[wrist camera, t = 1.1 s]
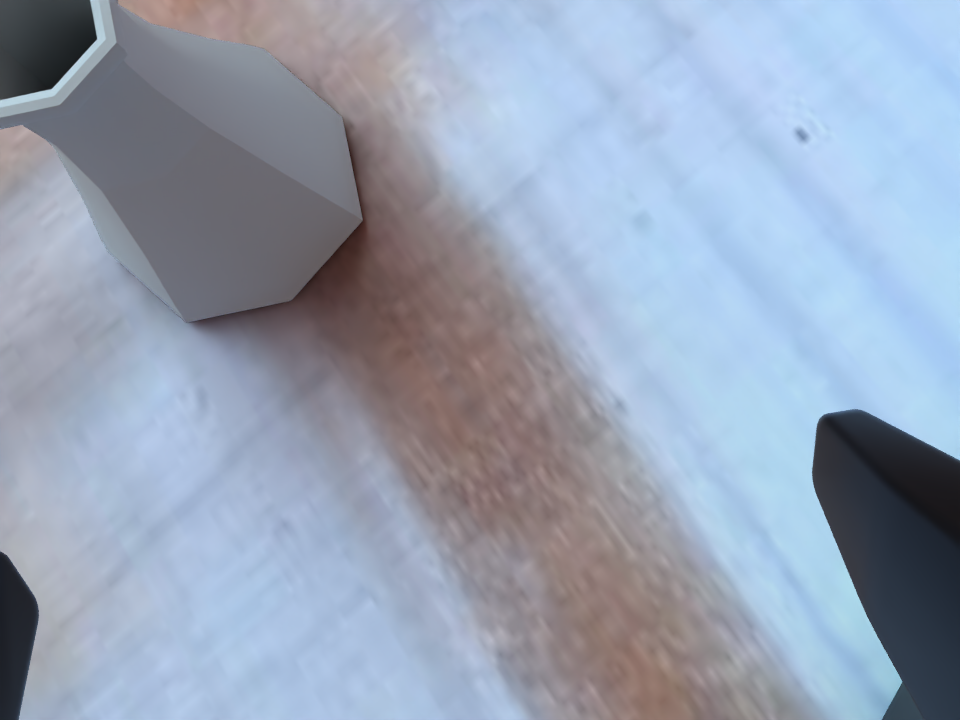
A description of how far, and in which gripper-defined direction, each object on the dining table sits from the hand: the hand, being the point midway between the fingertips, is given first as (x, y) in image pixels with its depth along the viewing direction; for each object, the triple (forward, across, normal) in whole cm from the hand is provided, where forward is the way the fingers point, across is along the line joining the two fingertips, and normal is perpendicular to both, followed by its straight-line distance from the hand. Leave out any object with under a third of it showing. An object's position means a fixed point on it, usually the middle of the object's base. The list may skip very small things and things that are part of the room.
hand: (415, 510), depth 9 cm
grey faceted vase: (+15, +5, +1) cm, 16 cm away
